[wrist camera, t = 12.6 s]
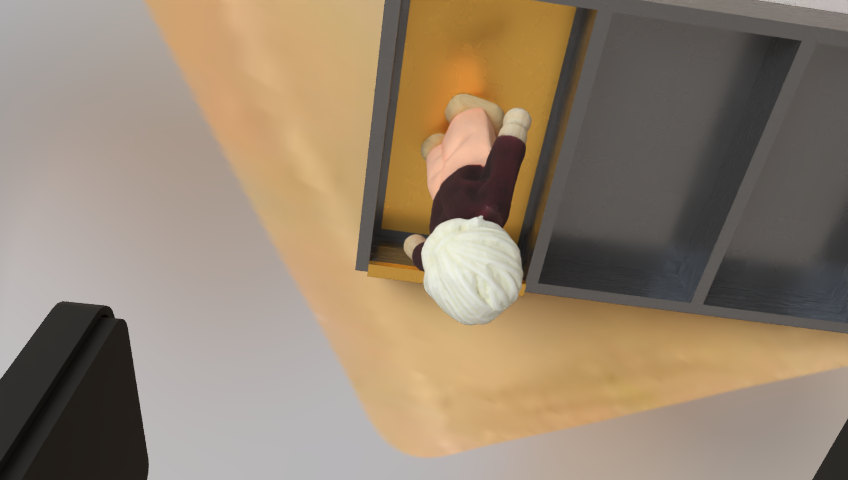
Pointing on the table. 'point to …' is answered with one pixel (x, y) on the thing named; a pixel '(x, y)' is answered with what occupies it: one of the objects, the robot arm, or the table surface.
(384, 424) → the table surface
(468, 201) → the grandmother figurine
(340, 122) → the table surface
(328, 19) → the table surface
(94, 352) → the robot arm
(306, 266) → the table surface
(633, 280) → the tray
